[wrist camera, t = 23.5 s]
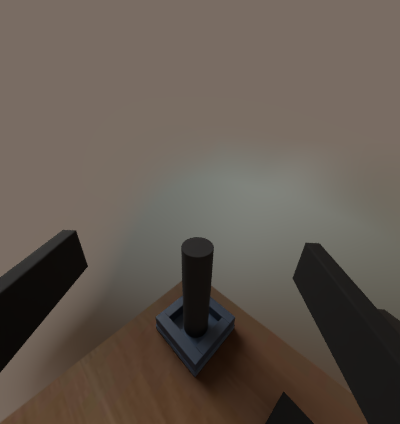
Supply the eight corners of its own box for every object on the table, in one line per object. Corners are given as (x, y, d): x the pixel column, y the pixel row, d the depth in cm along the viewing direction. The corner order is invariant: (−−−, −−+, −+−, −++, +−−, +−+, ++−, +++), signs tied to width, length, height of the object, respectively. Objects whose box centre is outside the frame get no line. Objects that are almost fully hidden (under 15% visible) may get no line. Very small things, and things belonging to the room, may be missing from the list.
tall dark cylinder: (178, 324, 30) (174, 245, 23) (196, 308, 32) (198, 233, 25) (194, 343, 27) (196, 262, 20) (213, 325, 30) (220, 247, 22)
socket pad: (156, 328, 30) (154, 316, 29) (195, 294, 36) (195, 284, 35) (195, 377, 24) (195, 366, 23) (234, 328, 30) (236, 317, 29)
